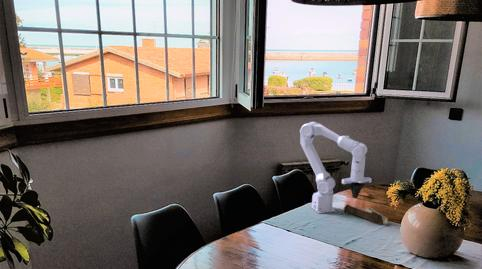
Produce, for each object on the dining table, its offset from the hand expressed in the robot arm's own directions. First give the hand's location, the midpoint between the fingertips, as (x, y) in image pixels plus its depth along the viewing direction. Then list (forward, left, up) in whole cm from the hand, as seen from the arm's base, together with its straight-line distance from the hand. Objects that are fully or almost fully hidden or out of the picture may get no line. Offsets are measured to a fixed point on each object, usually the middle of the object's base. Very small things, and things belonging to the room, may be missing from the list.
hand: (354, 197), depth 167 cm
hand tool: (+4, -3, -10) cm, 11 cm away
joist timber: (+9, -5, -9) cm, 14 cm away
